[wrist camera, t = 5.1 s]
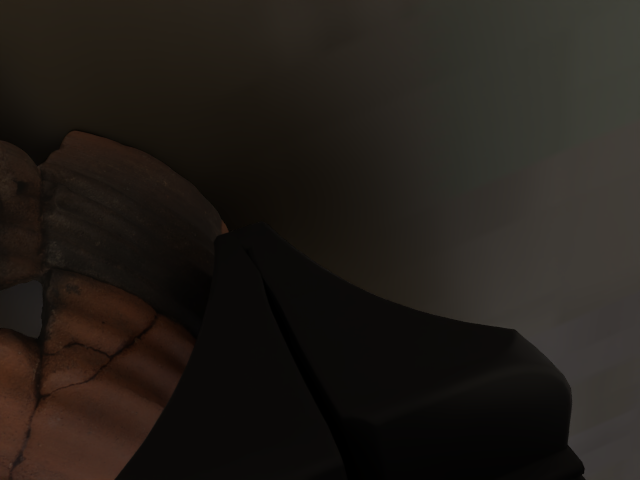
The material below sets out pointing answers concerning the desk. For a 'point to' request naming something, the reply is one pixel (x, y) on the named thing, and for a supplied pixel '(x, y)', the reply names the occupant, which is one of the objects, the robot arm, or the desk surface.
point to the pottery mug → (97, 302)
